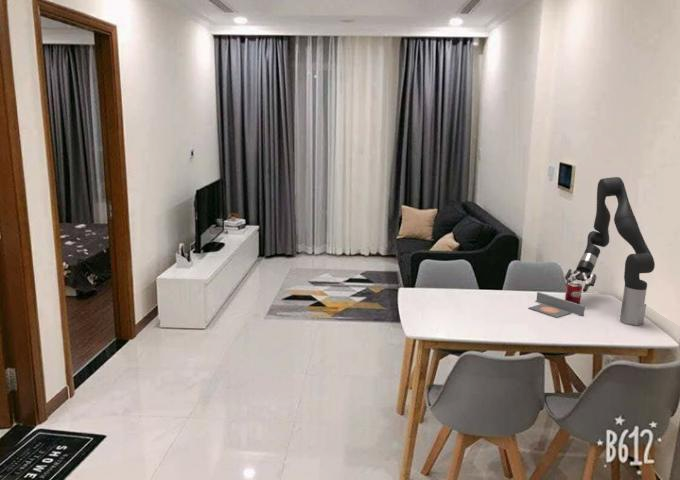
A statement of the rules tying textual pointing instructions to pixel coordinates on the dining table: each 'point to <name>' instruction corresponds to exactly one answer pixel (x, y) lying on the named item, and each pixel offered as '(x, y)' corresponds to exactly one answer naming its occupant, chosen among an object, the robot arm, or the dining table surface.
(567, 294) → the soda can
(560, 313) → the mat
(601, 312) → the dining table surface
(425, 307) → the dining table surface
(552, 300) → the low wall
